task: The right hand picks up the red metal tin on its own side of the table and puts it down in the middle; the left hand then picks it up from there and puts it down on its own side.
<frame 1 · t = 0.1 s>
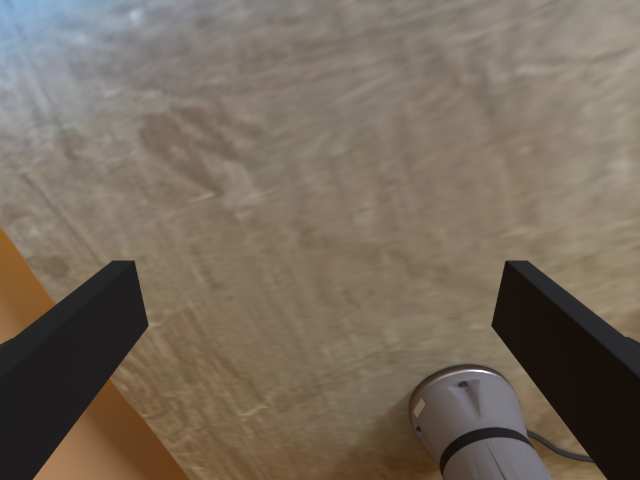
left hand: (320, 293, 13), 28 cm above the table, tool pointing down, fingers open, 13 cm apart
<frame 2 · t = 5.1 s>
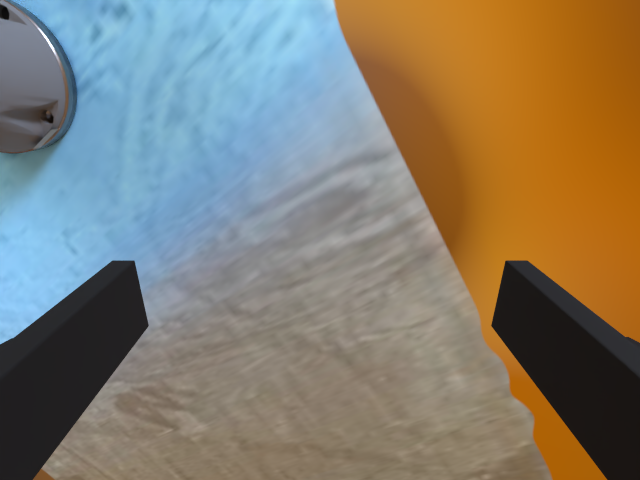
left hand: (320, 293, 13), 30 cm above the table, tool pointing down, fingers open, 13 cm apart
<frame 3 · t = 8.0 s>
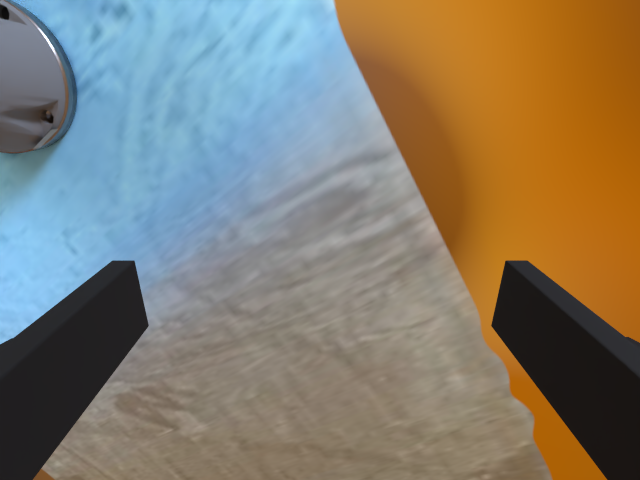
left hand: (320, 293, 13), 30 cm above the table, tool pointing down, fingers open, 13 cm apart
when the right hand's fingers open (4 cm above the table, at t = 11.1 s): tin drops 2 cm, on the table.
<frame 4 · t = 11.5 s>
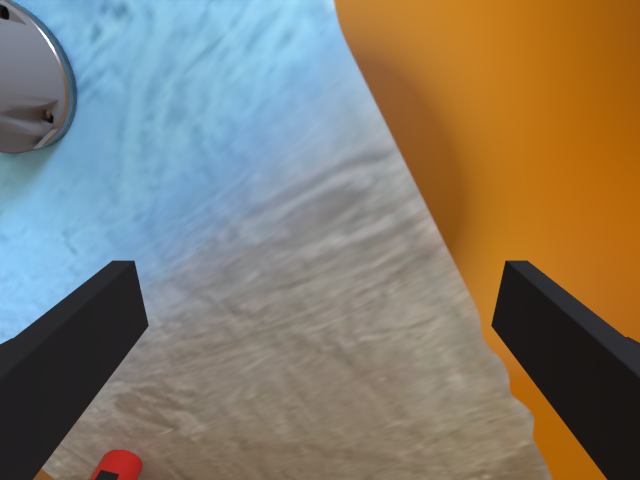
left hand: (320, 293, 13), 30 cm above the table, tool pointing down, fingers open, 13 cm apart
tin: (122, 463, 60), on the table
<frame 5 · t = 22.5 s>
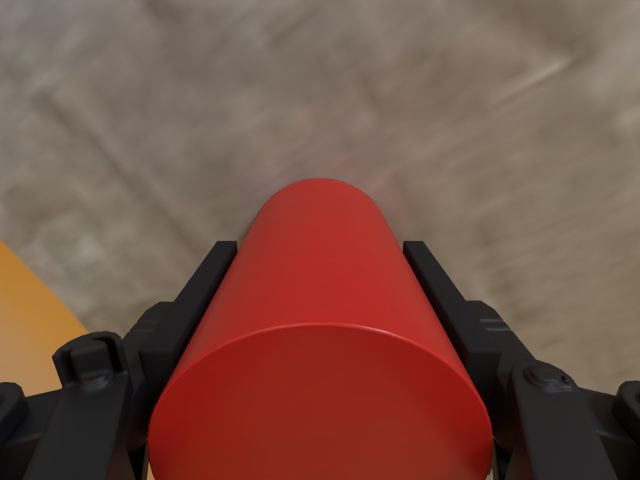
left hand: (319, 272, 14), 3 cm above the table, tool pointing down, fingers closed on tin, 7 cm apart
tin: (320, 246, 17), on the table, touching left hand
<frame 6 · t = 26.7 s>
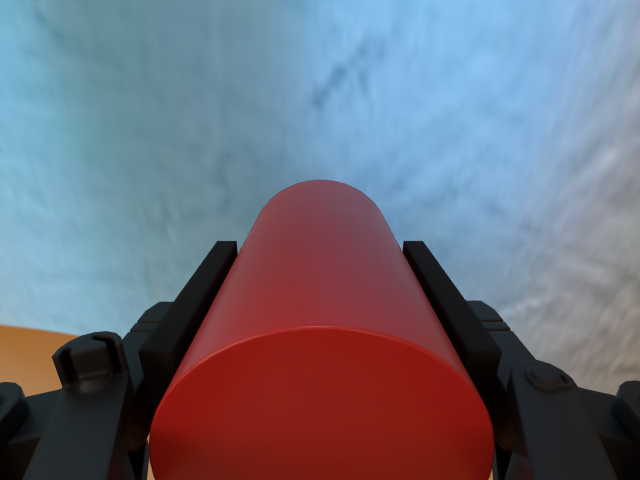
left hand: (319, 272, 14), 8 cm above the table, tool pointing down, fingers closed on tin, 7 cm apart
tin: (320, 247, 17), point 6 cm above the table, touching left hand
when the left hand's fingers open (4 cm above the table, at t = 31.0 s): tin drops 2 cm, on the table.
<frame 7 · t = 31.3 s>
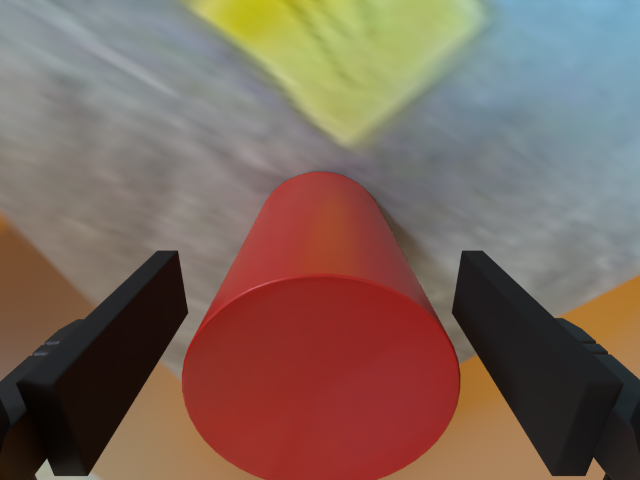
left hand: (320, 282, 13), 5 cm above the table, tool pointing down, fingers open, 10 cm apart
tin: (320, 234, 18), on the table
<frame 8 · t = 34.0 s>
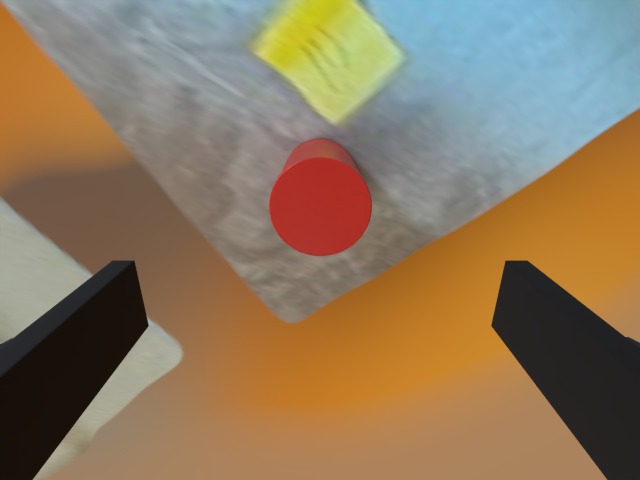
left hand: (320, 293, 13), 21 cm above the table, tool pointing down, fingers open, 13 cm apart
tin: (320, 175, 33), on the table
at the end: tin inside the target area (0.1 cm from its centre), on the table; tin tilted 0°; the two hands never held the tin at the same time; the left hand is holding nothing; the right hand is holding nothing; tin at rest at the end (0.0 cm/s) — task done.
